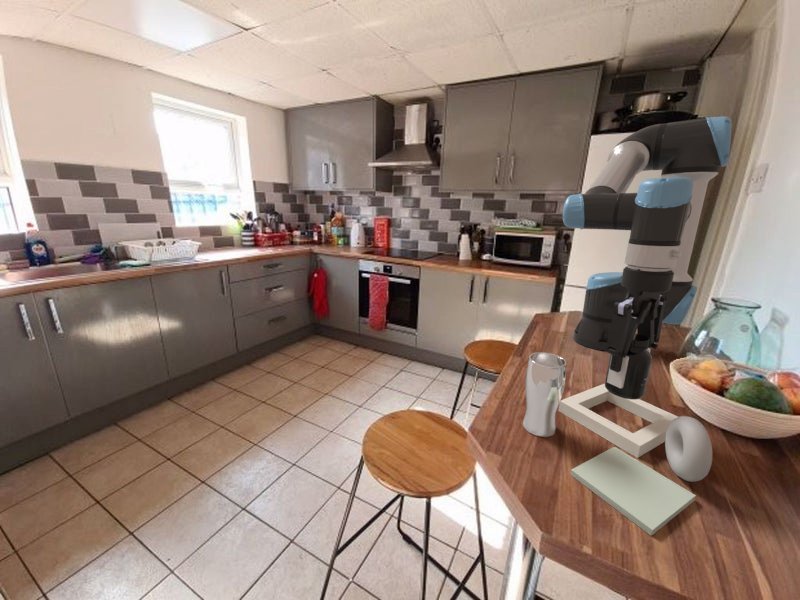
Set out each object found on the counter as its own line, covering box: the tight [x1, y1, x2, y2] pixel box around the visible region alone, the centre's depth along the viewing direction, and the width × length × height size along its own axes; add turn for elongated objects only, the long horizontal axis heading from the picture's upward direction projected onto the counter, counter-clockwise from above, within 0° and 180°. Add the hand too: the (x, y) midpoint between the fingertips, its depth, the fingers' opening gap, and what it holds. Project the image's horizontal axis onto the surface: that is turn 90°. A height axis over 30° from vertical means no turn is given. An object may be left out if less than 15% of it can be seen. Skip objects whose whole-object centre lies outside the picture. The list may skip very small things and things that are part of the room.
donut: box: [664, 415, 713, 482], centre depth 54 cm, size 10×4×10 cm, turn 159°
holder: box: [557, 383, 679, 459], centre depth 68 cm, size 16×16×2 cm
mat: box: [570, 446, 697, 537], centre depth 52 cm, size 12×12×1 cm
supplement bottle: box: [604, 332, 653, 400], centre depth 66 cm, size 7×7×12 cm
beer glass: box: [522, 351, 567, 438], centre depth 65 cm, size 7×7×15 cm
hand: (625, 380), depth 67 cm, fingers closed on supplement bottle, 7 cm apart
